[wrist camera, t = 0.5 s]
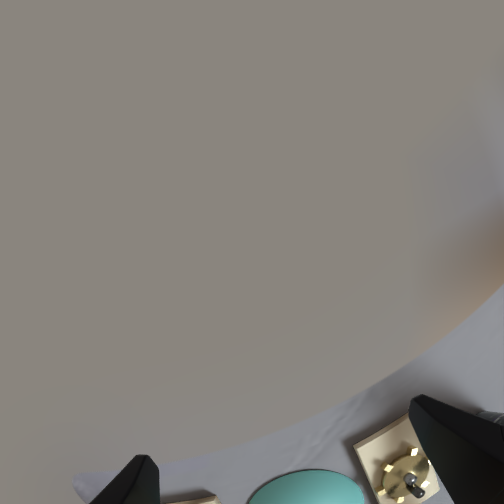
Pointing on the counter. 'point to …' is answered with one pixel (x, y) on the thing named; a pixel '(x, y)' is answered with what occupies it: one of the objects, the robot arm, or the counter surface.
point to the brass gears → (404, 476)
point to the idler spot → (310, 489)
